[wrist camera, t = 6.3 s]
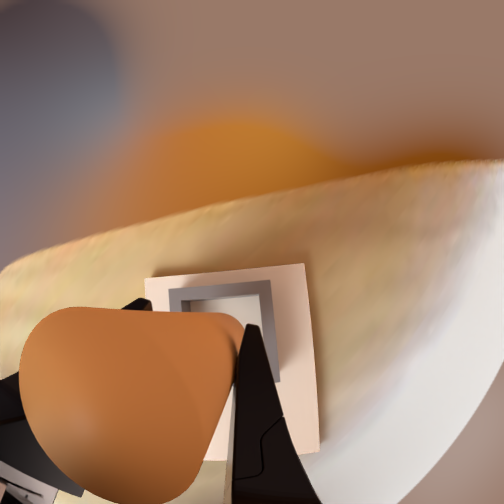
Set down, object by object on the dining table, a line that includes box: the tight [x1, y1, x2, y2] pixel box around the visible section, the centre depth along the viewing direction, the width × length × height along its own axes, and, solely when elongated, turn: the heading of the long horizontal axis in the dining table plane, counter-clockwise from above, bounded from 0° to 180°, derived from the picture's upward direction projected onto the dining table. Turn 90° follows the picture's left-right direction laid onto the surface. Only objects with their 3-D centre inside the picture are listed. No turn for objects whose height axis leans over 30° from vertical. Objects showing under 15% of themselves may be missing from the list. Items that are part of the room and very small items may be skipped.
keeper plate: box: [145, 263, 320, 461], centre depth 18 cm, size 15×12×4 cm
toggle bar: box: [19, 307, 245, 504], centre depth 9 cm, size 3×3×12 cm
